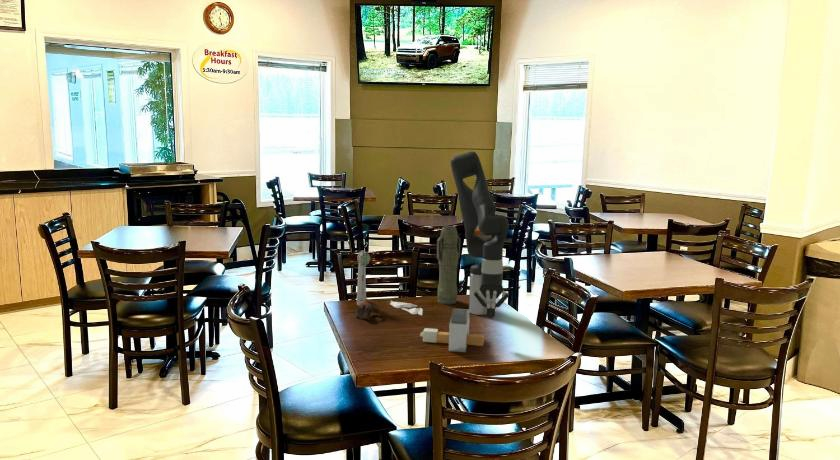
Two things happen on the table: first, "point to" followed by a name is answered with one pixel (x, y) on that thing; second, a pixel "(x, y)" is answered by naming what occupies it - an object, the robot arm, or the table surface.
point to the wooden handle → (443, 337)
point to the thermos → (448, 264)
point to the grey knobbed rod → (362, 276)
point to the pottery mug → (367, 308)
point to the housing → (459, 330)
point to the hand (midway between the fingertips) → (490, 317)
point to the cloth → (401, 304)
